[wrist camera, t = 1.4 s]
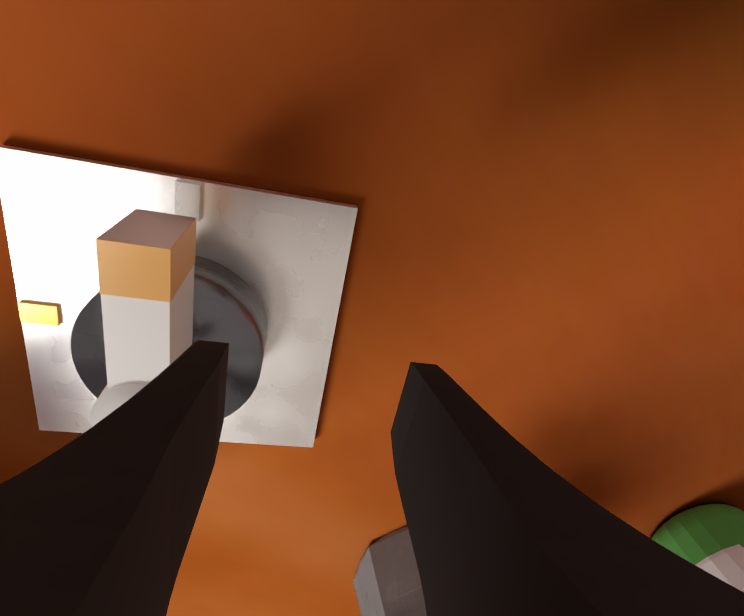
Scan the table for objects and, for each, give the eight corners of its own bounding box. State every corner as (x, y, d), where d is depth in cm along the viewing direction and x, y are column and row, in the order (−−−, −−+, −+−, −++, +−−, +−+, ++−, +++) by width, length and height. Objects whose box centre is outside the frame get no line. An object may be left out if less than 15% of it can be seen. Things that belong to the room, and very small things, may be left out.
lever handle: (204, 397, 18) (183, 457, 15) (129, 391, 17) (93, 453, 15) (211, 220, 15) (187, 254, 12) (120, 206, 14) (71, 238, 11)
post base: (312, 440, 24) (312, 485, 21) (44, 423, 22) (7, 471, 19) (356, 205, 18) (364, 226, 16) (1, 144, 16) (-61, 157, 13)
